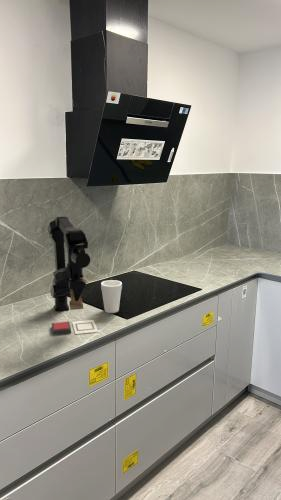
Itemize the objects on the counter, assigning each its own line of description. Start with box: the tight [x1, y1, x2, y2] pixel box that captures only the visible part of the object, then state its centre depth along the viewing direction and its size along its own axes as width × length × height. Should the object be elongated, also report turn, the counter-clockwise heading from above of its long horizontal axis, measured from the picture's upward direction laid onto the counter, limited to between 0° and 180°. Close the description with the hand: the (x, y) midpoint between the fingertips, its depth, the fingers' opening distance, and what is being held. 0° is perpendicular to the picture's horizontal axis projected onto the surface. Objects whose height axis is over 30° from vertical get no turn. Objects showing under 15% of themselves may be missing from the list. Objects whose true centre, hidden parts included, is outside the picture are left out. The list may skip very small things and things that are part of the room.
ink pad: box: [51, 321, 72, 336], centre depth 159 cm, size 8×7×2 cm
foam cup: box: [100, 279, 123, 314], centre depth 178 cm, size 10×9×13 cm
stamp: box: [68, 289, 84, 311], centre depth 157 cm, size 5×5×8 cm
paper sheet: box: [71, 319, 99, 336], centre depth 161 cm, size 12×9×1 cm
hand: (76, 299), depth 158 cm, fingers closed on stamp, 4 cm apart
